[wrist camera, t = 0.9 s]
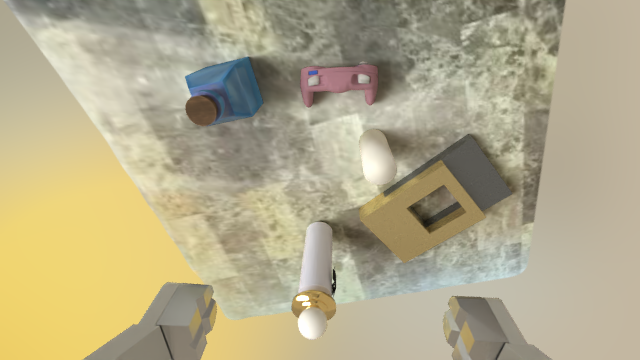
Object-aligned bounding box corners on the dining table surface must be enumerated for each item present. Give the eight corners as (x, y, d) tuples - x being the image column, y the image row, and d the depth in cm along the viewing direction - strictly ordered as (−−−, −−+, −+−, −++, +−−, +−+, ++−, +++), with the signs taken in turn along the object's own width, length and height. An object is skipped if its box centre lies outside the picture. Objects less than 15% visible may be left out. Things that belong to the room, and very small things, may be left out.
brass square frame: (468, 133, 43) (477, 142, 40) (507, 188, 47) (518, 199, 44) (359, 208, 50) (360, 220, 48) (400, 250, 54) (404, 263, 52)
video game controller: (374, 72, 41) (381, 54, 34) (375, 106, 41) (382, 94, 34) (303, 75, 42) (295, 58, 35) (303, 109, 42) (296, 98, 35)
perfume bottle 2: (300, 238, 54) (283, 346, 37) (307, 212, 51) (292, 317, 34) (331, 244, 55) (329, 355, 37) (339, 220, 52) (341, 327, 34)
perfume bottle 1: (248, 56, 39) (217, 73, 29) (263, 102, 42) (239, 133, 32) (205, 67, 40) (159, 87, 30) (222, 111, 43) (186, 144, 33)
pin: (375, 123, 43) (383, 149, 35) (391, 143, 44) (403, 171, 37) (353, 141, 44) (357, 169, 37) (370, 159, 46) (377, 190, 38)
